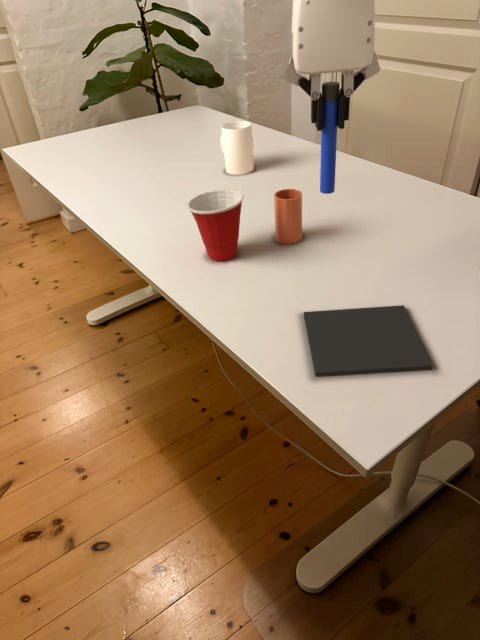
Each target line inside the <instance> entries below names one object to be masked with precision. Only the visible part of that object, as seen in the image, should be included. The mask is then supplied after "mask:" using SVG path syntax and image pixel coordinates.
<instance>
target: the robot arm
mask: <svg viewBox="0 0 480 640" xmlns="http://www.w3.org/2000/svg"><path fill="white" fill-rule="evenodd" d="M375 3H376V2H375V0H293V1H292V14H291V38H290V39H291V42H290V43H291V44H290V45H291V49H290V50H291V51H290V53H291V54H290V56H289V59H288V62H287V64H286V67H285V69H284V73H283V79H284V81H285V82H287V83H290V84H291V85H294V86H297V87H300V88H301V89H302V91H304V92H305V94H307V95H308V96H309V97H310V122H311V124H315V129H316V130H317V132H321V130H323V105H324V101H323V99H322V91H321V81H322V74H333V73H340V88H339V100H338V122H337V129H340V130H344V129H345V122H346V121H349V120H350V105H351V104H350V103H351V97H352V96H353V95H354V92H355V91H356V90H357V89H358V88H359V87H360V86H361V85H362V84H363V83H364V81H366V80H368V79H370V78H372V77H373V76H376V75H377V74H379V73H380V71H381V65H380V63H379V60H378V57H377V53H376V50H375V36H376V35H375V33H376V29H375V27H376V26H375V25H376V20H375V19H376V17H375V16H376V15H375V12H376V11H375V10H376V9H375ZM305 75H308V78H307V76H305Z"/></svg>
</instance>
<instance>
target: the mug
mask: <svg viewBox="0 0 480 640" xmlns="http://www.w3.org/2000/svg"><path fill="white" fill-rule="evenodd" d="M252 129H253V127H252V123H251V122H250V121H245V120H237V121H236V120H235V121H230V122H229V121H228V122H225V123H223V124H222V125H221V135H220V140H219V141H220V142H219V143H220V149H221V151H222V154H223V155H224V156H223V157H224V163H225V164H224V167H225V172H226V173H227V174H229V175H235V176H240V175H246V174H249V173H251V172H253V171H254V169H255V163H254V162H255V161H254V143H253V142H254V138H253V130H252Z"/></svg>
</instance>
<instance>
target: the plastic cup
mask: <svg viewBox="0 0 480 640" xmlns="http://www.w3.org/2000/svg"><path fill="white" fill-rule="evenodd" d="M244 198H245V197H244V194H243V192H242V191H240V190H237V189H231V188H219V189H213V190H209V191H208V190H207V191H205V192H202V193H199V194H196V195H195V196H194V197H192V198H190V199H189V200H188V201H187V203H186V208H187V210H188V211H189V212H190V213H191V215H192V217H193V219H194V221H195V223H196V225H197V229H198V231H199V234H200V237H201V240H202V243H203V245H204V247H205V251H206V254H207V256H208V258H209V259H210V260H211V261H214V262H227V261H230V260H232V259H234V258H235V257H236V256H237V252H238V246H239V245H238V244H239V237H240V224H241V213H242V206H243V205H242V204H243V200H244Z"/></svg>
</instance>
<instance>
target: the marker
mask: <svg viewBox="0 0 480 640" xmlns="http://www.w3.org/2000/svg"><path fill="white" fill-rule="evenodd" d="M340 85H341V82H338V81H326V82H323V83H322V84H321V94H322V99H323V101H324V105H323V130H321V131H320V136H321V137H320V169H319V171H320V173H319V193H321V194H324V195H329V194H333V193H334V192H335V189H336V187H335V186H336V168H337V167H336V163H337V146H338V145H337V144H338V143H337V141H338V126H337V122H338V100H339V90H340Z"/></svg>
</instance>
